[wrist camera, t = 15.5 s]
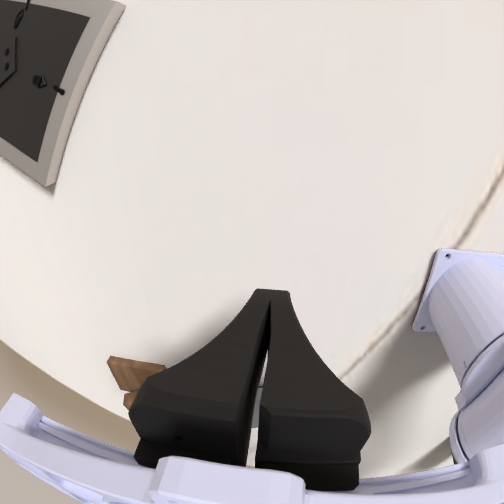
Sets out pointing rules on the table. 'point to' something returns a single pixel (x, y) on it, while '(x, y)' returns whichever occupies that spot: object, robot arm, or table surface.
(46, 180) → the picture frame
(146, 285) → the table surface
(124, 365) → the domino
